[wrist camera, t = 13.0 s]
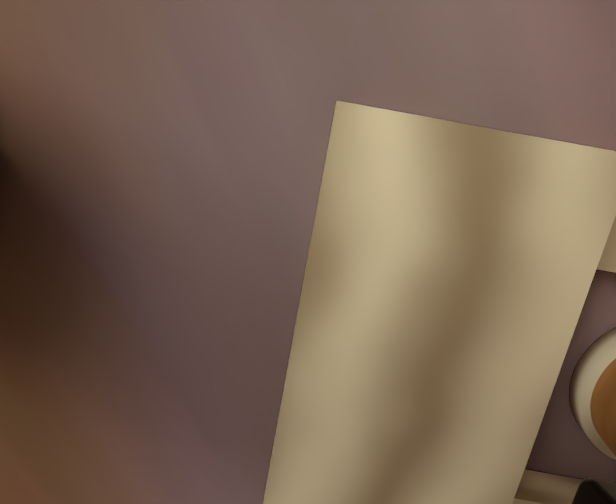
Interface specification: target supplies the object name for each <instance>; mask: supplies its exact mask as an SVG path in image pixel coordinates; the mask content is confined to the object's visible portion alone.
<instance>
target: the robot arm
mask: <svg viewBox="0 0 616 504" xmlns="http://www.w3.org/2000/svg"><path fill="white" fill-rule="evenodd" d="M572 504H616V483H614V482H612V481H607V480H601V479H595V478H585V479H583V480H582V481H581V482H580V484H579V486H578V489H577V491H576V494H575V496H574V499H573V501H572Z"/></svg>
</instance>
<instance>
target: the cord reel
mask: <svg viewBox="0 0 616 504" xmlns="http://www.w3.org/2000/svg"><path fill="white" fill-rule="evenodd" d="M569 400H570V406H571V410H572V413H573V415H574V418H575V420H576V421H577V423H578V424H579V426H580V427H581V429H582V430H583V431H584V433H585V434H586V435H587V437H588V438H589V439H590V441H591V442H592V443H593V444H594V445H595V446H596V447H597V448H598V449H599V450H600V451H601V452H603V453H604V454H605V455H607V456H609V457H610V458H612V459H614V460H616V327H615V328H613V329H612V330H610V331H608V332H607V333H605V334H604V335H602V336H601V337H600V338H598V339H597V340H596V341H595V342H594V343H593V344H592V345H591V346H590V347H589V348H588V349H587V350H586V351H585V353H584V354H583V355H582V357H581V358H580V360H579V361H578V363H577V365H576V367H575V369H574V372H573V375H572V377H571V382H570V387H569Z"/></svg>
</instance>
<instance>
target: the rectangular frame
mask: <svg viewBox="0 0 616 504" xmlns="http://www.w3.org/2000/svg"><path fill="white" fill-rule="evenodd" d="M596 269H598V270H603V271H609V272H615V273H616V151H612V150H606V149H601V148H595V147H590V146H584V145H579V144H573V143H568V142H562V141H557V140H551V139H546V138H540V137H535V136H529V135H524V134H518V133H513V132H507V131H502V130H496V129H491V128H485V127H480V126H474V125H469V124H463V123H458V122H452V121H447V120H441V119H436V118H430V117H425V116H419V115H414V114H408V113H403V112H397V111H392V110H386V109H381V108H375V107H370V106H365V105H359V104H354V103H348V102H343V101H337V100H336V104H335V109H334V115H333V120H332V126H331V131H330V137H329V142H328V148H327V153H326V159H325V164H324V170H323V175H322V181H321V186H320V192H319V197H318V203H317V208H316V214H315V219H314V225H313V230H312V236H311V241H310V247H309V252H308V258H307V263H306V269H305V274H304V279H303V285H302V290H301V296H300V301H299V307H298V312H297V318H296V323H295V329H294V334H293V340H292V345H291V351H290V356H289V362H288V367H287V373H286V378H285V384H284V389H283V395H282V400H281V406H280V411H279V417H278V422H277V428H276V433H275V439H274V444H273V450H272V455H271V461H270V466H269V471H268V477H267V482H266V488H265V493H264V499H263V504H572V501H573V499H574V496H575V494H576V491H577V489H578V486H579V484H580V482H581V481H582V479H576V478H570V477H565V476H559V475H553V474H548V473H542V472H536V471H531V470H525V467H526V464H527V461H528V458H529V456H530V453H531V450H532V447H533V444H534V442H535V439H536V436H537V433H538V430H539V428H540V425H541V422H542V419H543V417H544V414H545V411H546V408H547V405H548V403H549V400H550V397H551V394H552V392H553V389H554V386H555V383H556V380H557V378H558V375H559V372H560V369H561V366H562V364H563V361H564V358H565V355H566V353H567V350H568V347H569V344H570V341H571V339H572V336H573V333H574V330H575V327H576V325H577V322H578V319H579V316H580V314H581V311H582V308H583V305H584V302H585V300H586V297H587V294H588V291H589V288H590V286H591V283H592V280H593V277H594V275H595V272H596Z"/></svg>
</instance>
